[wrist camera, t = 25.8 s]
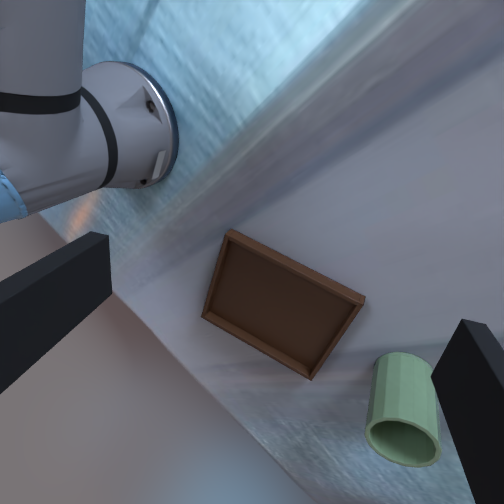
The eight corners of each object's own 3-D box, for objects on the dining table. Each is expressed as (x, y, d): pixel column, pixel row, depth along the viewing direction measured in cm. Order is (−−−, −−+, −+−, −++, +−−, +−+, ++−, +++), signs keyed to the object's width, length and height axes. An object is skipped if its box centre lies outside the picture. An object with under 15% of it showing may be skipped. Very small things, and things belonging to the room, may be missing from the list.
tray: (206, 310, 53) (200, 317, 51) (231, 228, 44) (225, 233, 42) (314, 372, 49) (311, 381, 48) (365, 296, 40) (363, 304, 39)
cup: (363, 375, 46) (353, 439, 38) (391, 342, 42) (386, 406, 34) (414, 403, 44) (415, 476, 36) (448, 372, 40) (457, 447, 32)
